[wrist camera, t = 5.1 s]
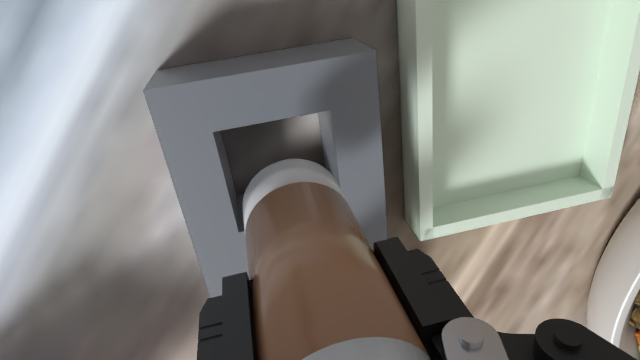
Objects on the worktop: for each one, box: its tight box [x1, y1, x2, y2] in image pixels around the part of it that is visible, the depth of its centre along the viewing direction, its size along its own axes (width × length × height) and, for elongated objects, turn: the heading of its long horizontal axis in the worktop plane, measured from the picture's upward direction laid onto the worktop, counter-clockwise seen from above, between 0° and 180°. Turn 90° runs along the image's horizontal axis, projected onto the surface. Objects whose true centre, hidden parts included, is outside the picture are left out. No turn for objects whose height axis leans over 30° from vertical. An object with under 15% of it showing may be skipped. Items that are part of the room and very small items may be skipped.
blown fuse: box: [243, 159, 431, 360], centre depth 12 cm, size 4×4×11 cm
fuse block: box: [143, 38, 388, 298], centre depth 24 cm, size 18×10×4 cm, turn 7°
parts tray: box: [397, 0, 640, 241], centre depth 24 cm, size 16×13×2 cm
